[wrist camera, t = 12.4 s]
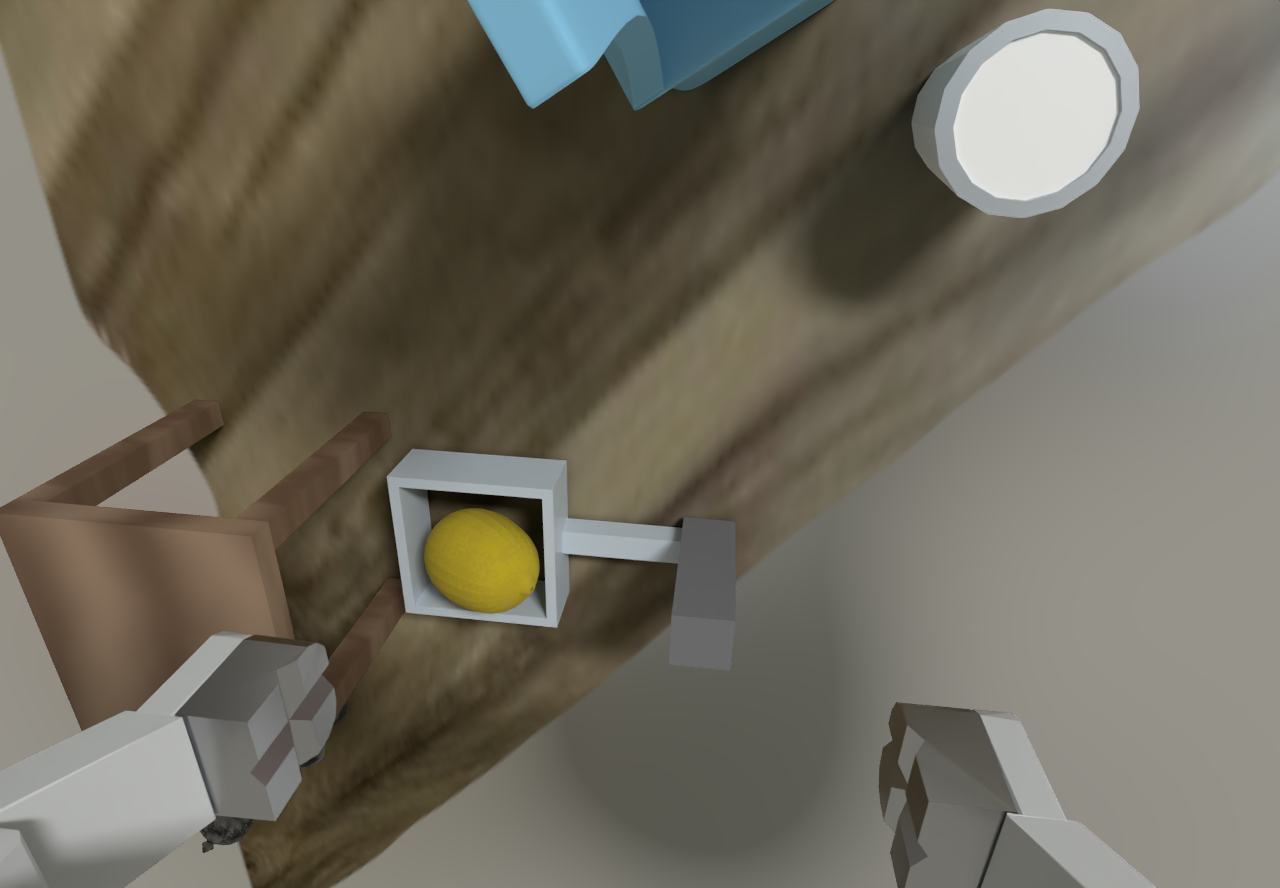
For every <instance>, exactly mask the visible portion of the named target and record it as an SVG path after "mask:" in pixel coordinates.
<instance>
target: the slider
mask: <svg viewBox="0 0 1280 888" xmlns="http://www.w3.org/2000/svg"><path fill="white" fill-rule="evenodd" d="M387 483H388V490H389V497H390V504H391V511H392V518H393V525H394V532H395V539H396V546H397V553H398V560H399V567H400V574H401V581H402V588H403V595H404V602H405V609H406V613H416V614H426V615H436V616H446V617H456V618H466V619H476V620H486V621H496V622H506V623H516V624H526V625H536V626H546V627H556V628H557V626H558V623H559V620H560V617H561V614H562V611H563V609H564V606H565V603H566V600H567V597H568V594H569V554H576V555H587V556H598V557H609V558H621V559H632V560H643V561H654V562H665V563H677V564H678V568H677V576H676V584H675V592H674V600H673V608H672V617H671V635H670V654H669V664H671V665H681V666H691V667H701V668H710V669H721V670H731V660H732V651H733V640H734V630H735V571H736V521H726V520H714V519H702V518H690V517H684V520H683V528H677V527H666V526H654V525H642V524H630V523H618V522H606V521H595V520H583V519H571V518H568V503H567V461H564V460H551V459H538V458H525V457H512V456H499V455H486V454H473V453H460V452H447V451H434V450H421V449H412V450H411V451H410V452H409V453H408V454H407V455H406V456H405V457H404V458H403V460H402V461H401V462H400V463H399V464H398V465H397V466H396V467H395V468H394V469H393V470H392V471H391V472H390V474H389V475H388V476H387ZM427 490H439V491H451V492H463V493H476V494H488V495H500V496H512V497H524V498H537V499H542V509H543V535H544V561H545V581H537V583H536V585H535V589H534V591H533V592H532V593H531V594H530V595H529V596H528V597H527V598H526V599H525V600H524V601H523V602H522V603H521V604H519V605H518V606H516V607H515V608H513V609H510V610H508V611H505V612H501V613H493V614H489V613H482V612H478V611H474V610H470V609H467V608H464V607H462V606H459V605H457V604H456V603H454V602H452V601H451V600H449V599H448V598H447V597H446V596H444V595H443V594H442V593H441V592H440V591H439V590H438V589H437V588H436V587H435V586H434V584H433V583H432V581H431V579H430V577H429V575H428V574H427V571H426V567H425V562H424V550H425V545H426V541H427V538H428V536H429V534H430V532H431V531H432V529H431V520H430V512H429V503H428V495H427Z"/></svg>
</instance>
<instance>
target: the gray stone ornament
mask: <svg viewBox="0 0 1280 888" xmlns="http://www.w3.org/2000/svg"><path fill="white" fill-rule="evenodd" d="M345 713H346V703H345V704H344V706H343V707H342V709H341V710H340V712H339V713H338V715H337V716H336V718H335V720H334V723H333V725H336V724H337V723H339V722H340V721H341V720H342V719H343V717H344V715H345ZM327 740H328V739H327ZM326 743H327V741H326ZM326 743H325V744H324V746H323V748H322V749H321V751H320V753H319V754H317V755H316V756H314V757H313V758H311V759H310V760H308V761H307V763H306V762H305V763H303V764H302V765H300V769H302V768H308V767H311V766H314V765H316V764H317V763H318V762H320V761H321V760H322V758H323V756H324V754H325V753H326ZM215 816H216V819H215V820H214V821H212V822H211V823H210V824H208V825H207V826H206V827H204V828H203V829H202V830H200V832H201V833H202V835H203V836H204V837H205V838H206V839H207V841H206V842H203V844H202V846H203V847H202V849H203V853H205V852H208V851H209V850H212V849H213V844H219V845H230V844H233V843H235V842H238V841H239V840H240V839H241V838H242V837H243V836H244V835H245V834H246V832H247V831H248V829H249V828H250V826H251V825H252V823H253V822H254V821H255V819H248V818H238V817H228V816H218V815H215Z"/></svg>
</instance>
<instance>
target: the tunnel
mask: <svg viewBox="0 0 1280 888" xmlns="http://www.w3.org/2000/svg"><path fill="white" fill-rule="evenodd" d="M223 425H224V422H223V418H222V414H221V410H220V406H219V402H216V401H202V400H194V401H192V402H190V403H189V404H187V405H185V406H183V407H181V408H180V409H178V410H176V411H174V412H172V413H170V414H169V415H167V416H165V417H163V418H162V419H160V420H158V421H156V422H154V423H152V424H151V425H149V426H147V427H145V428H143V429H142V430H140V431H138V432H136V433H134V434H132V435H131V436H129V437H127V438H125V439H123V440H122V441H120V442H118V443H116V444H114V445H113V446H111V447H109V448H107V449H105V450H104V451H102V452H100V453H98V454H96V455H95V456H93V457H91V458H89V459H87V460H85V461H84V462H82V463H80V464H78V465H76V466H75V467H73V468H71V469H69V470H67V471H66V472H64V473H62V474H60V475H58V476H56V477H55V478H53V479H51V480H49V481H47V482H46V483H44V484H42V485H40V486H39V487H37V488H35V489H33V490H31V491H29V492H28V493H26V494H24V495H22V496H20V497H18V498H17V499H15V500H13V501H11V502H9V503H8V504H6V505H4V506H2V507H0V536H1V538H2V541H3V543H4V546H5V548H6V551H7V553H8V555H9V558H10V560H11V563H12V565H13V567H14V570H15V572H16V574H17V577H18V579H19V581H20V584H21V586H22V589H23V591H24V594H25V596H26V598H27V601H28V603H29V606H30V608H31V610H32V613H33V615H34V618H35V620H36V622H37V625H38V627H39V629H40V632H41V634H42V636H43V639H44V641H45V644H46V646H47V649H48V651H49V653H50V656H51V658H52V660H53V663H54V665H55V668H56V670H57V672H58V675H59V677H60V679H61V682H62V684H63V687H64V689H65V692H66V694H67V696H68V699H69V701H70V704H71V706H72V708H73V711H74V713H75V715H76V718H77V720H78V723H79V725H80V728H81V730H82V731H84V730H86V729H88V728H90V727H92V726H94V725H96V724H98V723H101V722H103V721H105V720H107V719H109V718H111V717H113V716H115V715H117V714H119V713H122V712H124V711H135V712H136V711H137V710H138V709H139V708H140V707H141V706H142V705H143V704H144V703H145V702H146V701H147V700H148V699H149V698H150V697H151V696H152V695H153V694H154V693H155V692H156V691H157V690H158V689H159V688H160V687H161V686H162V685H163V684H164V683H165V682H166V681H167V680H168V679H169V678H170V677H171V676H172V675H173V674H174V673H175V672H176V671H177V670H178V669H179V668H180V667H181V666H182V665H183V664H184V663H185V662H186V661H187V660H188V659H189V658H190V657H191V656H192V655H193V654H194V653H195V652H196V651H197V650H198V649H199V648H200V647H201V646H202V645H203V644H204V643H205V642H206V641H207V640H208V639H209V638H210V637H211V636H212V635H214V634H217V633H219V632H222V631H227V632H234V633H241V634H249V635H263V636H271V637H278V638H286V639H294V640H295V636H294V632H293V627H292V623H291V619H290V614H289V610H288V605H287V601H286V597H285V592H284V588H283V584H282V579H281V575H280V570H279V566H278V562H277V557H276V553H275V550H276V549H277V548H278V547H279V546H280V545H281V544H282V543H283V542H284V541H285V540H286V539H288V538H289V537H290V536H291V535H292V534H293V533H294V532H295V531H296V530H297V529H298V528H299V527H300V526H301V525H302V524H303V523H304V522H305V521H306V520H307V519H308V518H309V517H310V516H311V515H312V514H313V513H314V512H315V511H316V510H317V509H318V508H319V507H320V506H321V505H322V504H323V503H324V502H325V501H326V500H327V499H329V498H330V497H331V496H332V495H333V494H334V493H335V492H336V491H337V490H338V489H339V488H340V487H341V486H342V485H343V484H344V483H345V482H346V481H347V480H348V479H349V478H350V477H351V476H352V475H353V474H354V473H355V472H356V471H357V470H358V469H359V468H360V467H361V466H362V465H363V464H364V463H365V462H366V461H367V460H368V459H369V458H371V457H372V456H373V455H374V454H375V453H376V452H377V451H378V450H379V449H380V448H381V447H382V446H383V445H384V444H385V443H386V442H387V441H388V440H389V439H390V438H391V432H390V425H389V417H388V414H383V413H369V412H363V413H362V414H360V415H359V416H358V417H357V418H356V419H354V420H353V421H352V422H351V423H350V424H348V425H347V426H346V427H345V428H344V429H342V430H341V431H340V432H339V433H338V434H336V435H335V436H334V437H333V438H332V439H331V440H329V441H328V442H327V443H326V444H325V445H323V446H322V447H321V448H320V449H319V450H317V451H316V452H315V453H314V454H313V455H311V456H310V457H309V458H308V459H307V460H305V461H304V462H303V463H302V464H301V465H299V466H298V467H297V468H296V469H295V470H293V471H292V472H291V473H290V474H289V475H287V476H286V477H285V478H284V479H283V480H281V481H280V482H279V483H278V484H277V485H275V486H274V487H273V488H272V489H271V490H269V491H268V492H267V493H266V494H265V495H263V496H262V497H261V498H260V499H259V500H257V501H256V502H255V503H254V504H253V505H251V506H250V507H249V508H248V509H247V510H245V511H244V512H243V513H242V514H241V515H239V516H238V517H237V518H236V519H234V518H223V517H211V516H200V515H189V514H176V513H165V512H155V511H143V510H132V509H120V508H110V507H98V506H96V505H98V504H100V503H101V502H103V501H104V500H106V499H107V498H109V497H111V496H112V495H114V494H115V493H117V492H119V491H120V490H122V489H123V488H125V487H126V486H128V485H130V484H131V483H133V482H134V481H136V480H138V479H139V478H141V477H142V476H144V475H145V474H147V473H149V472H150V471H152V470H153V469H155V468H157V467H158V466H160V465H161V464H163V463H164V462H166V461H168V460H169V459H171V458H172V457H174V456H176V455H177V454H179V453H180V452H182V451H183V450H185V449H187V448H188V447H190V446H191V445H193V444H194V443H196V442H198V441H199V440H201V439H202V438H204V437H206V436H207V435H209V434H210V433H212V432H213V431H215V430H217V429H218V428H220V427H221V426H223ZM405 610H406V609H405V602H404V595H403V588H402V581H401V579H398V578H388V579H387V580H386V581H385V583H384V584H383V586H382V587H381V588H380V590H379V591H378V592H377V594H376V595H375V597H374V598H373V599H372V601H371V602H370V603H369V605H368V606H367V608H366V609H365V610H364V612H363V613H362V614H361V616H360V617H359V618H358V620H357V621H356V623H355V624H354V625H353V627H352V628H351V629H350V631H349V632H348V634H347V635H346V636H345V638H344V639H343V640H342V642H341V643H340V645H339V646H338V647H337V649H336V650H335V651H334V653H333V654H332V656H331V657H330V658H329V660H328V661H329V665H328V666H327V668H326V669H325V670H324V672H323V673H322V675H323V676H324V677H325V678H326V679H327V681H328V682H329V683H330V684H331V685H332V686H333V687H334V690H335V695H336V700H337V701H336V716H337V715H338V713H339V712H340V710H341V709H342V707H343V706H344V704H345V702H346V701H347V699H348V698H349V696H350V695H351V693H352V692H353V690H354V689H355V687H356V685H357V684H358V682H359V681H360V679H361V678H362V676H363V675H364V673H365V672H366V670H367V669H368V667H369V665H370V664H371V662H372V661H373V659H374V658H375V656H376V655H377V653H378V652H379V650H380V648H381V647H382V645H383V644H384V642H385V641H386V639H387V638H388V636H389V635H390V633H391V632H392V630H393V628H394V627H395V625H396V624H397V622H398V621H399V619H400V618H401V616H402V615H403V613H404V612H405ZM335 718H336V717H335ZM306 763H307V761H306Z"/></svg>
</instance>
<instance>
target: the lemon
mask: <svg viewBox="0 0 1280 888" xmlns="http://www.w3.org/2000/svg"><path fill="white" fill-rule="evenodd" d="M424 562H425V567H426V571H427V574H428V575H429V577H430V579H431V581H432V583H433V584H434V586H435V587H436V588H437V589H438V590H439V591H440V592H441V593H442V594H443V595H444V596H446V597H447V598H448V599H449V600H451V601H452V602H454V603H456V604H457V605H459V606H462V607H464V608H467V609H470V610H474V611H478V612H482V613H489V614H493V613H501V612H505V611H508V610H510V609H513V608H515V607H516V606H518V605H519V604H521V603H522V602H523V601H524V600H525V599H526V598H527V597H528V596H529V595H530V594H531V593H532V592H533V591H534V589H535V585H536V583H537V580H538V576H539V565H540V562H539V557H538V552H537V549H536V547H535V545H534V544H533V542H532V540H531V539H530V537H529V536H528V535H527V534H526V533H525V532H524V531H523V530H522V529H521V528H520V527H519V526H518V525H516V524H515V523H514V522H512V521H511V520H510V519H508V518H507V517H505V516H503V515H501V514H499V513H496V512H493V511H490V510H485V509H480V508H468V509H461V510H458V511H456V512H453V513H451V514H449V515H447V516H446V517H444V518H443V519H441V520H440V521H439V522H438V523H437V524H436V525H435V527H434V528H433V529H432V531H431V532H430V534H429V536H428V538H427V541H426V545H425V550H424Z"/></svg>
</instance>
